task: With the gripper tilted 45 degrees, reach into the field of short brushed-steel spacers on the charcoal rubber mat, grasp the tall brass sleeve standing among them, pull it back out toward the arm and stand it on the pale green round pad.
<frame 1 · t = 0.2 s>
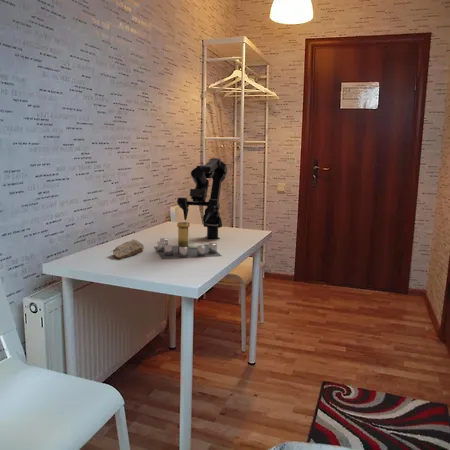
hand: (194, 220, 196), 14 cm above the table, tool tilted 35°, fingers open, 9 cm apart
brass sleeve: (183, 252, 195), resting on mat
pad: (194, 246, 207), resting on mat
mat: (186, 252, 197), on the table
stone: (128, 254, 192), on the table
spacers: (183, 253, 195), resting on mat
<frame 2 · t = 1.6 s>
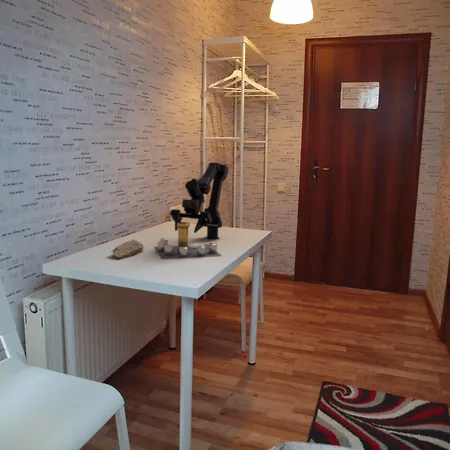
hand: (185, 231, 195), 9 cm above the table, tool tilted 45°, fingers open, 9 cm apart
nothing on the table moved.
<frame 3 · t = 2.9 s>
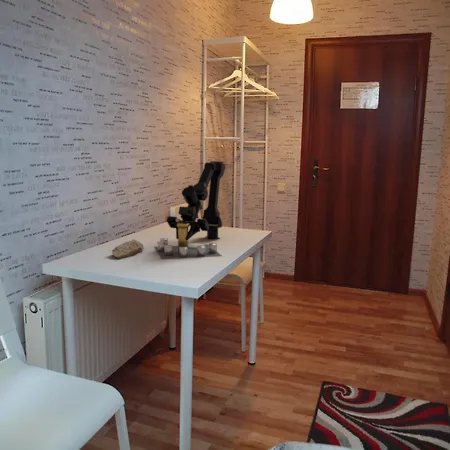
hand: (181, 239, 193), 7 cm above the table, tool tilted 45°, fingers closed on brass sleeve, 4 cm apart
brass sleeve: (183, 252, 195), resting on mat, touching gripper
everything else where it was.
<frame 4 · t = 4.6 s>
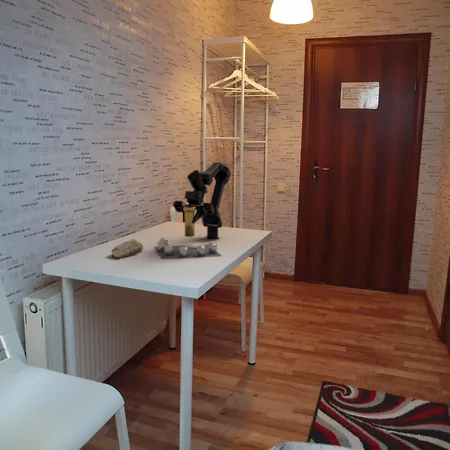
hand: (188, 222, 198), 13 cm above the table, tool tilted 45°, fingers closed on brass sleeve, 4 cm apart
brass sleeve: (189, 235, 200), point 7 cm above the table, touching gripper
everything else where it was.
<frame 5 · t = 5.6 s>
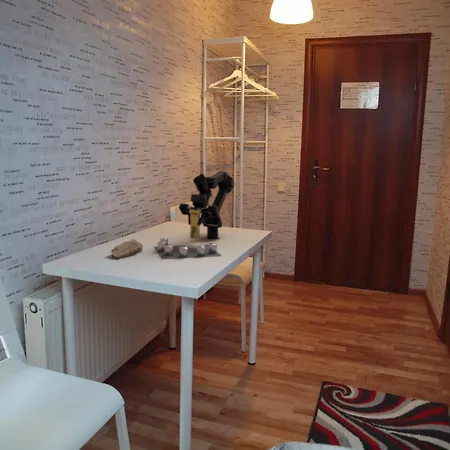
hand: (193, 224, 204), 11 cm above the table, tool tilted 45°, fingers closed on brass sleeve, 4 cm apart
brass sleeve: (194, 237, 206), point 5 cm above the table, touching gripper
everything else where it was.
when the fingers open (8 cm above the table, at t = 6.4 s): brass sleeve drops 1 cm, resting on pad.
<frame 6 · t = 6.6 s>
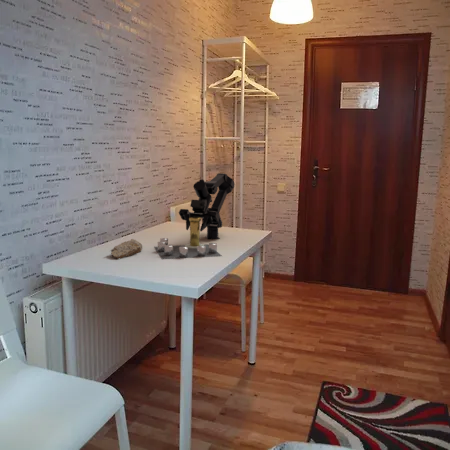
hand: (193, 230, 204), 8 cm above the table, tool tilted 45°, fingers open, 7 cm apart
brass sleeve: (194, 245, 207), point 1 cm above the table, touching pad
everything else where it was.
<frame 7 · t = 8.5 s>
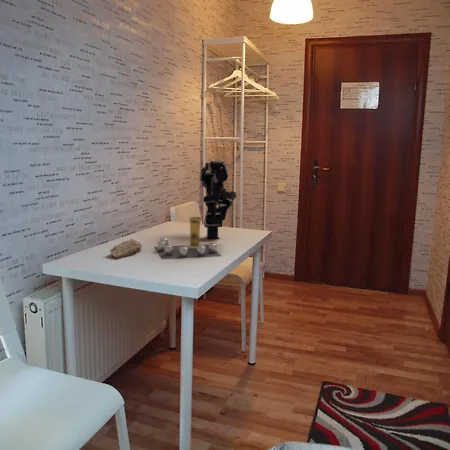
hand: (218, 219, 210), 13 cm above the table, tool tilted 15°, fingers open, 9 cm apart
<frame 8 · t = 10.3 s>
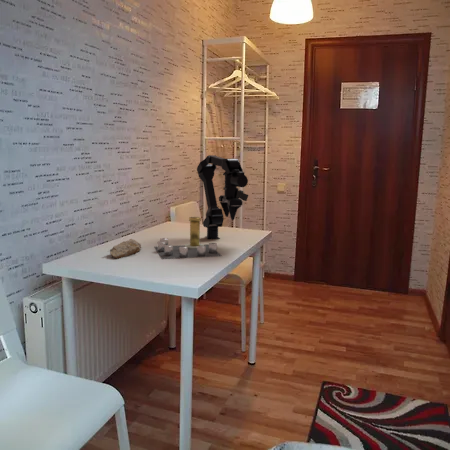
hand: (229, 218, 211), 13 cm above the table, tool pointing down, fingers open, 9 cm apart
at the end: brass sleeve 0.1 cm from the pad (horizontally); brass sleeve tilted 0°; brass sleeve point 1.0 cm above the table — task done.
